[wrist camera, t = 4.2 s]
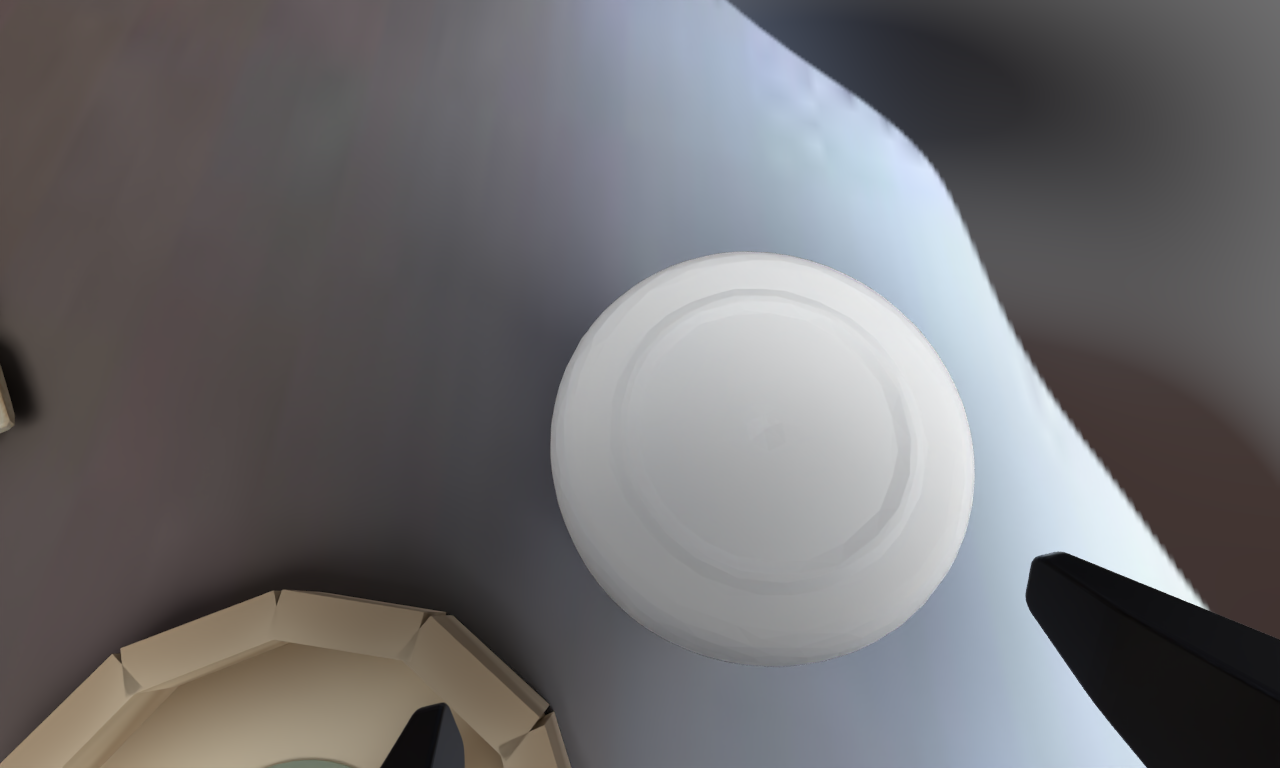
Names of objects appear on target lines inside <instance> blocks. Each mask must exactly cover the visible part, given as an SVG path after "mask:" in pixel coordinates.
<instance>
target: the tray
mask: <svg viewBox="0 0 1280 768" xmlns="http://www.w3.org/2000/svg"><path fill="white" fill-rule="evenodd" d="M120 649H121V653H118V654H112V655H111V656H110V657H109V658H108V659H107V660H105V661H104V662H103V663H102V664H101V665H100V666H99V667H98V668H97V669H96V670H95V671H94V672H93V673H92V674H91V675H90V676H89V677H88V678H87V679H86V680H85V681H84V682H83V683H82V684H81V685H80V686H79V687H78V688H77V689H76V690H75V691H74V692H73V693H72V694H71V695H70V696H69V697H68V698H67V699H66V700H65V701H64V702H63V703H62V704H61V705H60V706H59V707H58V708H57V709H56V710H54V711H53V712H52V713H51V714H50V715H49V716H48V717H47V718H46V719H45V720H44V721H43V722H42V723H41V724H40V725H39V726H38V727H37V728H36V729H35V730H34V731H33V732H32V733H31V734H30V735H29V736H28V737H27V738H26V739H25V740H24V741H23V742H22V743H21V744H20V745H19V746H18V747H17V748H16V749H15V750H14V751H13V752H12V753H11V754H10V755H9V756H8V757H7V758H6V759H4V760H3V761H2V762H1V763H0V768H380V767H381V765H382V764H383V762H384V760H385V759H386V757H387V755H388V754H389V752H390V751H391V749H392V747H393V746H394V744H395V742H396V741H397V739H398V737H399V736H400V734H401V732H402V731H403V729H404V728H405V726H406V724H407V723H408V721H409V719H410V718H411V716H412V715H413V713H414V712H415V711H416V710H417V709H419V708H421V707H425V706H429V705H433V704H437V703H441V702H442V703H443V702H444V703H446V704H447V705H448V706H449V707H450V710H451V712H452V714H453V717H454V719H455V722H456V724H457V727H458V729H459V732H460V734H461V737H462V740H463V744H464V753H465V768H571V765H570V762H569V758H568V755H567V752H566V749H565V745H564V742H563V739H562V736H561V732H560V729H559V726H558V723H557V719H556V716H555V713H554V712H551V713H549V714H547V715H545V713H544V712H545V710H546V709H547V708H548V706H549V704H548V703H547V702H546V701H545V700H544V699H543V698H542V697H541V696H540V695H539V694H538V693H536V692H535V691H534V690H533V689H532V688H531V687H530V686H529V685H528V684H527V683H526V682H525V681H523V680H522V679H521V678H520V677H519V676H518V675H517V674H516V673H515V672H514V671H513V670H512V669H510V668H509V667H508V666H507V665H506V664H505V663H504V662H503V661H502V660H501V659H500V658H498V657H497V656H496V655H495V654H494V653H493V652H492V651H491V650H490V649H489V648H488V647H487V646H485V645H484V644H483V643H482V642H481V641H480V640H479V639H478V638H477V637H476V636H475V635H474V634H472V633H471V632H470V631H469V630H468V629H467V628H466V627H465V626H464V625H463V624H462V623H461V622H459V621H458V620H457V619H456V618H455V617H454V616H453V615H446V612H443V611H437V610H430V609H424V608H418V607H412V606H406V605H399V604H393V603H387V602H381V601H374V600H368V599H362V598H356V597H349V596H343V595H337V594H331V593H325V592H314V591H299V590H283V589H282V591H275V590H273V591H271V592H268V593H265V594H263V595H260V596H258V597H255V598H252V599H250V600H247V601H244V602H242V603H239V604H236V605H234V606H231V607H228V608H226V609H223V610H221V611H218V612H215V613H213V614H210V615H207V616H205V617H202V618H199V619H197V620H194V621H191V622H189V623H186V624H184V625H181V626H178V627H176V628H173V629H170V630H168V631H165V632H162V633H160V634H157V635H154V636H152V637H149V638H147V639H144V640H141V641H139V642H136V643H133V644H131V645H128V646H125V647H123V648H120Z"/></svg>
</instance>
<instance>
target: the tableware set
mask: <svg viewBox="0 0 1280 768" xmlns="http://www.w3.org/2000/svg"><path fill="white" fill-rule="evenodd" d="M14 425H15V414H14V411H13V407H12V403H11V399H10V395H9V392H8V388H7V385H6V382H5V378H4V375H3V372H2V368H1V365H0V433H3V432H5V431H7V430H9V429H10V428H11V427H13V426H14Z"/></svg>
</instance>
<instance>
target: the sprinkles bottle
mask: <svg viewBox="0 0 1280 768" xmlns="http://www.w3.org/2000/svg"><path fill="white" fill-rule="evenodd" d="M550 458H551V467H552V475H553V481H554V486H555V491H556V496H557V501H558V505H559V508H560V511H561V513H562V516H563V519H564V522H565V524H566V527H567V529H568V532H569V534H570V536H571V539H572V541H573V543H574V545H575V547H576V549H577V551H578V553H579V554H580V556H581V558H582V560H583V562H584V564H585V565H586V567H587V568H588V570H589V571H590V572H591V574H592V575H593V577H594V578H595V579H596V581H597V582H598V584H599V585H600V586H601V587H602V588H603V590H604V591H605V592H606V593H607V594H608V595H609V596H610V597H611V598H612V600H613V601H614V602H615V603H616V604H617V605H618V606H620V607H621V608H622V609H623V610H624V611H625V612H626V613H627V614H628V615H629V616H631V617H632V618H633V619H634V620H636V621H637V622H638V623H640V624H641V625H642V626H644V627H645V628H647V629H648V630H650V631H652V632H653V633H655V634H657V635H658V636H660V637H662V638H664V639H665V640H667V641H669V642H671V643H673V644H676V645H678V646H680V647H682V648H684V649H687V650H689V651H692V652H694V653H697V654H700V655H703V656H706V657H710V658H713V659H717V660H721V661H725V662H729V663H735V664H742V665H750V666H764V667H785V666H797V665H804V664H811V663H817V662H823V661H827V660H830V659H833V658H837V657H840V656H844V655H847V654H850V653H853V652H855V651H858V650H860V649H862V648H864V647H866V646H868V645H870V644H872V643H874V642H876V641H878V640H879V639H881V638H882V637H884V636H886V635H887V634H889V633H890V632H892V631H894V630H895V629H897V628H898V627H900V626H901V625H902V624H904V623H905V622H906V621H907V620H908V619H909V618H910V617H911V616H912V615H913V614H914V613H915V612H917V611H918V610H919V609H920V608H921V607H922V606H923V605H924V604H925V603H926V601H927V600H928V599H929V597H930V596H931V595H932V593H933V592H934V591H935V589H936V588H937V587H938V585H939V584H940V583H941V581H942V580H943V579H944V577H945V576H946V575H947V573H948V571H949V570H950V568H951V566H952V564H953V562H954V561H955V559H956V557H957V554H958V551H959V549H960V546H961V544H962V542H963V539H964V536H965V533H966V530H967V526H968V521H969V517H970V513H971V509H972V503H973V491H974V480H975V469H974V451H973V444H972V437H971V432H970V428H969V424H968V420H967V416H966V412H965V408H964V406H963V403H962V401H961V398H960V396H959V393H958V391H957V388H956V386H955V384H954V382H953V380H952V378H951V376H950V374H949V372H948V370H947V369H946V367H945V365H944V364H943V362H942V360H941V359H940V357H939V356H938V354H937V352H936V351H935V349H934V348H933V347H932V345H931V344H930V343H929V342H928V340H927V339H926V338H925V337H924V335H923V334H922V333H921V332H920V330H919V329H918V328H917V327H916V326H915V325H914V324H913V323H912V322H911V321H910V320H909V319H908V318H907V317H906V316H905V315H904V314H903V313H901V312H900V311H899V310H898V309H897V308H896V307H895V306H893V305H892V304H891V303H890V302H889V301H888V300H886V299H885V298H884V297H882V296H881V295H880V294H878V293H877V292H875V291H874V290H873V289H871V288H869V287H868V286H866V285H864V284H863V283H861V282H859V281H858V280H856V279H854V278H852V277H850V276H848V275H846V274H844V273H842V272H839V271H837V270H835V269H833V268H831V267H828V266H825V265H822V264H819V263H816V262H813V261H810V260H806V259H802V258H798V257H794V256H790V255H783V254H776V253H769V252H727V253H719V254H713V255H708V256H704V257H700V258H695V259H691V260H687V261H684V262H681V263H678V264H676V265H673V266H670V267H668V268H666V269H664V270H662V271H660V272H658V273H656V274H654V275H652V276H650V277H648V278H646V279H644V280H643V281H641V282H640V283H638V284H637V285H635V286H634V287H632V288H631V289H629V290H628V291H627V292H626V293H624V294H623V295H622V296H620V297H619V298H618V299H617V300H615V301H614V302H613V303H612V304H611V305H610V306H609V307H608V308H607V309H606V310H605V311H603V312H602V314H601V315H600V316H599V317H598V318H597V319H596V321H595V322H594V323H593V324H592V325H591V326H590V328H589V330H588V331H587V332H586V334H585V335H584V336H583V337H582V339H581V340H580V342H579V344H578V346H577V348H576V350H575V352H574V354H573V355H572V357H571V359H570V361H569V363H568V365H567V367H566V369H565V372H564V375H563V377H562V380H561V383H560V385H559V389H558V393H557V397H556V401H555V406H554V412H553V417H552V423H551V443H550Z"/></svg>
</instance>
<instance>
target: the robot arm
mask: <svg viewBox="0 0 1280 768" xmlns="http://www.w3.org/2000/svg"><path fill="white" fill-rule="evenodd" d="M1026 602H1027V605H1028V607H1029V610H1030V611H1031V613H1032V615H1033V616H1034V617H1035V619H1036V620H1037V622H1038V623H1039V625H1040V626H1041V628H1042V629H1043V631H1044V632H1045V633H1046V635H1047V636H1048V638H1049V639H1050V641H1051V642H1052V644H1053V645H1054V646H1055V648H1056V649H1057V651H1058V652H1059V654H1060V655H1061V657H1062V658H1063V659H1064V661H1065V662H1066V664H1067V665H1068V667H1069V668H1070V670H1071V671H1072V672H1073V674H1074V675H1075V677H1076V678H1077V680H1078V681H1079V683H1080V684H1081V685H1082V687H1083V688H1084V690H1085V691H1086V693H1087V694H1088V695H1089V697H1090V698H1091V699H1092V701H1093V702H1094V703H1095V705H1096V706H1097V707H1098V709H1099V710H1100V711H1101V712H1102V714H1103V715H1104V716H1105V717H1106V719H1107V720H1108V721H1109V722H1110V724H1111V725H1112V726H1113V727H1114V729H1115V730H1116V731H1117V732H1118V733H1119V735H1120V736H1121V737H1122V738H1123V739H1124V741H1125V742H1126V743H1127V744H1128V745H1129V747H1130V748H1131V749H1132V750H1133V752H1134V753H1135V754H1136V755H1137V756H1138V758H1139V759H1140V760H1141V761H1142V762H1143V764H1144V765H1145V766H1146V767H1147V768H1280V640H1279V639H1277V638H1275V637H1272V636H1270V635H1267V634H1265V633H1262V632H1260V631H1257V630H1255V629H1252V628H1250V627H1247V626H1245V625H1243V624H1240V623H1238V622H1235V621H1233V620H1230V619H1228V618H1225V617H1223V616H1220V615H1218V614H1215V613H1213V612H1211V611H1208V610H1206V609H1203V608H1201V607H1198V606H1196V605H1193V604H1191V603H1188V602H1186V601H1184V600H1181V599H1179V598H1176V597H1174V596H1171V595H1169V594H1166V593H1164V592H1161V591H1159V590H1156V589H1154V588H1152V587H1149V586H1147V585H1144V584H1142V583H1139V582H1137V581H1134V580H1132V579H1129V578H1127V577H1124V576H1122V575H1120V574H1117V573H1115V572H1112V571H1110V570H1107V569H1105V568H1102V567H1100V566H1097V565H1095V564H1092V563H1090V562H1088V561H1085V560H1083V559H1080V558H1078V557H1075V556H1073V555H1070V554H1068V553H1065V552H1053V553H1049V554H1045V555H1041V556H1037V557H1035V558H1034V560H1033V561H1032V563H1031V568H1030V573H1029V579H1028V584H1027V589H1026ZM380 768H465V753H464V744H463V740H462V737H461V734H460V732H459V729H458V727H457V724H456V722H455V719H454V717H453V714H452V712H451V710H450V707H449V706H448V705H447V704H446V703H444V702H443V703H442V702H441V703H437V704H433V705H429V706H425V707H421V708H419V709H417V710H416V711H415V712H414V713H413V715H412V716H411V718H410V719H409V721H408V723H407V724H406V726H405V728H404V729H403V731H402V732H401V734H400V736H399V737H398V739H397V741H396V742H395V744H394V746H393V747H392V749H391V751H390V752H389V754H388V755H387V757H386V759H385V760H384V762H383V764H382V765H381V767H380Z"/></svg>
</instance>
